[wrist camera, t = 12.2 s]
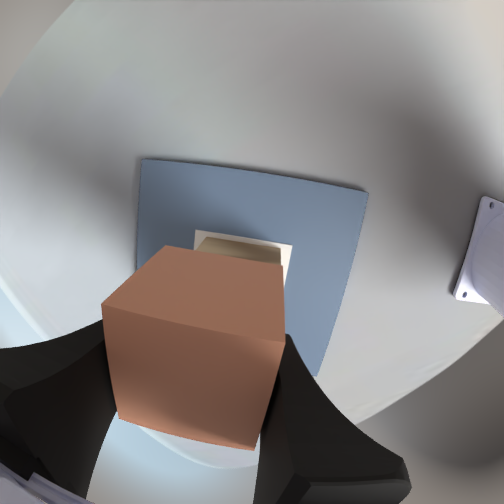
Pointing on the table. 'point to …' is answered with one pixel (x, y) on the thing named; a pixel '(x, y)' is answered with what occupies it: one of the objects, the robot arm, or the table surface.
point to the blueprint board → (261, 233)
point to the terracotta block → (196, 345)
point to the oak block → (241, 250)
